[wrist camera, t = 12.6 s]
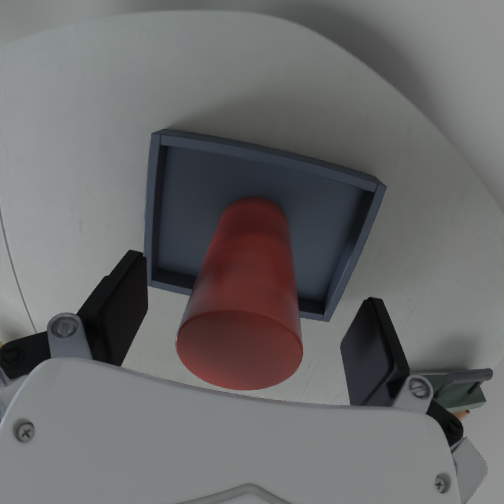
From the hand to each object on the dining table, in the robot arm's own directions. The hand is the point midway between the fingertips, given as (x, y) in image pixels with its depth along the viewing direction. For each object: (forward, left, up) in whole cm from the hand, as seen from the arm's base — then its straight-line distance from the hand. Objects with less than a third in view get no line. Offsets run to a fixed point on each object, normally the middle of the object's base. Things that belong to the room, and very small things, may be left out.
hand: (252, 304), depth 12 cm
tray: (0, 0, -8) cm, 8 cm away
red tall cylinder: (0, 0, -7) cm, 7 cm away
